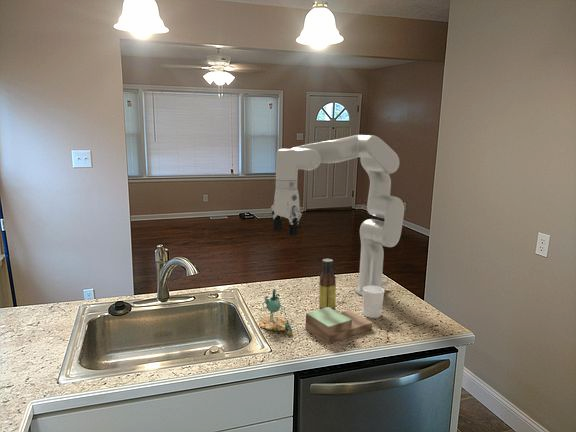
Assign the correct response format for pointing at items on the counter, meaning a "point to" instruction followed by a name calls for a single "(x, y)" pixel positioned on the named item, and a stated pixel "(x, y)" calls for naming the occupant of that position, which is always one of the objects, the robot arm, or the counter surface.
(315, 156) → the robot arm
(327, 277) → the sauce bottle
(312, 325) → the stand
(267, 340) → the counter surface
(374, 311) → the white cup
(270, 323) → the teal toy figure
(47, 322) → the counter surface
